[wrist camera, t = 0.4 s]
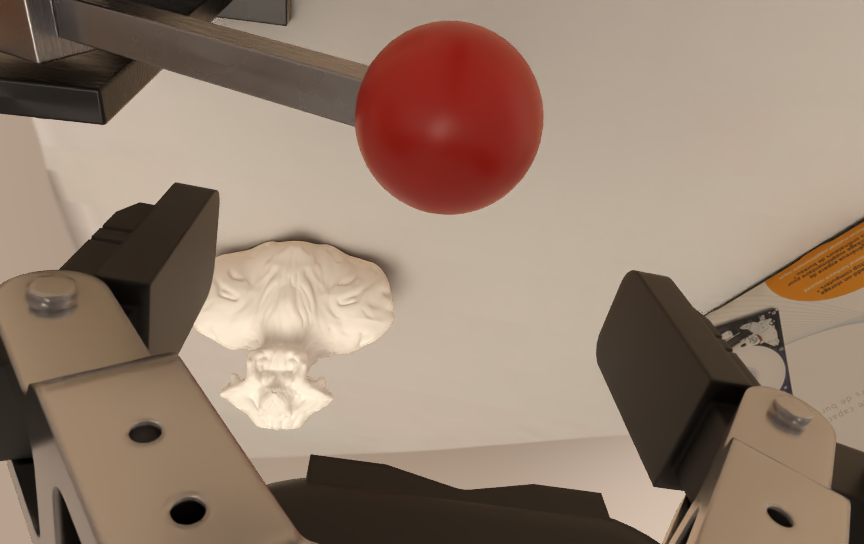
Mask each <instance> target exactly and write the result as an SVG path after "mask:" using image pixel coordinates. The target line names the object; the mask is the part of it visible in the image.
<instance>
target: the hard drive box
mask: <svg viewBox="0 0 864 544" xmlns="http://www.w3.org/2000/svg"><path fill="white" fill-rule="evenodd" d="M705 317H706V318H707V319H709V320H710V321H711V322H712V324H713V325H714V326H715V328H716V329H717V330H718V331H719V333H720V334H721V335H722V339H725V340H726V341H727V343H728V344H729V345H730V347H731V348H732V349H733V351H732V352H733V353H736V354H737V355H738V357H739V358H740V359H741V360H742V362H743V363H744V364H745V366H746V367H747V368H748V369H749V371H750V372H751V373H752V374H753V376H754V377H755V378H756V379H757V381H758V382H759V383H760V385H761V386H766V387H772V388H775V389H779V390H781V391H784V392H787V393H789V394H791V395H793V396H795V397H797V398H799V399H801V400H803V401H804V402H806V403H808V404H809V405H811V406H812V407H813V408H815V409H816V410H817V411H818V412H820V413H821V414H822V415H823V416H824V417H825V418H826V419H827V420H828V421H829V422H830V424H831V425H832V427H833V428H834V430H835V433H836V442H837V443H840V444H843V445H846V446H848V447H851V448H854V449H857V450H860V451H862V452H864V222H862V223H861V224H859V225H857V226H856V227H854V228H852V229H851V230H849V231H847V232H846V233H844V234H842V235H841V236H839V237H837V238H836V239H834V240H832V241H830V242H827V243H825V244H822V245H821V246H819V247H817V248H816V249H814V250H812V251H811V252H809V253H808V254H806V255H805V256H803V257H802V258H801V259H800V260H799V261H797V262H795V263H794V264H792V265H791V266H789V267H788V268H786V269H784V270H783V271H781V272H779V273H778V274H776V275H774V276H773V277H771V278H769V279H768V280H766V281H764V282H763V283H761V284H760V285H758V286H756V287H755V288H753V289H751V290H749V291H748V292H746V293H745V294H743V295H741V296H739V297H738V298H736V299H734V300H733V301H731V302H730V303H728V304H726V305H725V306H723V307H721V308H719V309H717V310H714V311H712V312H710V313H709V314H707V315H706V316H705Z"/></svg>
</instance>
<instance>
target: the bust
mask: <svg viewBox="0 0 864 544" xmlns="http://www.w3.org/2000/svg"><path fill="white" fill-rule="evenodd" d="M393 322H394V314H393V297H392V294H391V290H390V285H389V282H388V279H387V277H386V275H385V274H384V272H383V271H382V269H381V268H380V267H379V266H377V265H376V264H374V263H372V262H369V261H365V260H362V259H359V258H356V257H352V256H349V255H347V254H345V253H343V252H342V251H340V250H338V249H337V248H335V247H333V246H331V245H327V244H322V245H318V244H313V243H309V242H303V241H285V242H274V241H271V242H266V243H263V244H260V245H258V246H256V247H254V248H252V249H250V250H246V251H240V252H235V253H230V254H223V255H220V256H218V257H216V258H215V267H214V274H213V280H212V284H211V288H210V291H209V294H208V297H207V299H206V301H205V303H204V305H203V307H202V309H201V311H200V313H199V315H198V317H197V319H196V321H195V323H194V325H193V326H194V327H195V328H196V329H197V330H198V331H199V332H200V333H201V334H203V335H205V336H207V337H209V338H211V339H213V340H215V341H216V342H217V343H219V344H220V345H222V346H224V347H227V348H229V349H232V350H237V349H243V348H246V349H247V350H249V353H248V355H247V376H246V378H245V379H241V378H240V377H239V376H238V375H237V374H232V375H231V376H230V383H229V385H228V386H227V387H225V388H224V389H223V390H222V391H221V392H220V396H221V397H223V398H226V399H227V400H228V401H229V402H230V403H232V404H233V405H234V406H235V407H236V408H238V409H240V410H242V411H244V412H245V413H246V414H247V415H248V416H249V417H250V418H251V419H252V421H253V422H254V424H255V425H256V426H258V427H261V428H266V429H271V428H274V429H275V431H277V430H278V429H280V428H281V429H283V430H284V429H285V430H286V429H296V428H299V427H300V426H301V425H302V424H303V423H304V422H305V420H306V419H307V418H308V417H309V416H310V415H311V414H313V413H315V412H317V411H318V410H320V409H321V408H323V407H325V406H327V405H328V404H329V403H330V401H332V400H333V395H332V394H331V393H330V392H329V391H328V390H327V389H326V387H325V383H326V380H325V378H324V377H320V378H319V379H315V378H311V377H309V376H307V375H306V374H307V373H308V371H309V369H310V367H311V366H312V365H313V364H314V363H315V362H317V359H318V358H322V357H329V356H332V355H333V354H335V353H337V354H348V353H351V352H354V351H356V350H358V349H360V348H362V347H363V346H365V345H367V344H369V343H371V342H373V341H375V340H376V339H378V338H379V337H380V336H381V335H382V334H384V333H385V331H386V330H387V329H388V328H389V327H390V326H391V325H392V323H393Z"/></svg>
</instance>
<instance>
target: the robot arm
mask: <svg viewBox="0 0 864 544" xmlns="http://www.w3.org/2000/svg"><path fill="white" fill-rule="evenodd" d="M218 216H219V192H218V191H217V190H213V189H208V188H202V187H197V186H192V185H187V184H181V183H174V184H173V185H172V186H171V187H170V188H169V190H168V191H167V192H166V193H165V194H164V195H163V196H162V198H161V199H160V200H159V201H158V202H157V203H156V204H155V205H151V204H146V203H137V204H135V205H132V206H130V207H127V208H125V209H122V210H120V211H117V212H116V213H115V214H114V215H113V216H112V217H111V218H110V219H109V220H108V221H107V222H106V223H105V224H104V225H103V228H100V229H99V230H98V231H97V232H96V233H95V234H94V235H93V236H92V238H91V240H88V241H87V242H86V243H85V244H84V245H83V246H82V247H81V248H80V249H79V250H78V251H77V252H76V253H75V254H74V255H73V256H72V257H71V258H70V259H69V260H68V261H67V262H66V263H65V264H64V265H63V266H62V267H61V268H60V269H59V270H47V271H37V272H31V273H28V274H23V275H19V276H17V277H14V278H11V279H9V280H7V281H5V282H3V283H2V284H0V461H4V460H7V465H8V469H9V472H10V475H11V478H12V481H13V484H14V487H15V490H16V493H17V496H18V499H19V502H20V506H21V509H22V511H23V515H24V518H25V521H26V524H27V527H28V530H29V533H30V536H31V539H32V543H33V544H660V543H658V542H657V541H655V540H654V539H652V538H650V537H649V536H647V535H646V534H644V533H642V532H640V531H638V530H637V529H635V528H633V527H631V526H628V525H626V524H624V523H622V522H619V521H617V520H615V519H611V518H610V517H609V514H608V511H607V508H606V506H605V503H604V500H603V497H602V495H601V493H596V492H588V491H581V490H574V489H566V488H559V487H550V486H543V485H536V484H529V485H518V486H508V487H496V488H484V489H473V490H462V489H458V488H454V487H451V486H448V485H445V484H442V483H439V482H436V481H433V480H430V479H427V478H424V477H421V476H418V475H415V474H413V473H410V472H406V471H404V470H401V469H398V468H395V467H392V466H389V465H386V464H378V463H371V462H363V461H356V460H348V459H341V458H333V457H326V456H318V455H310V461H309V466H308V472H307V476H306V478H299V479H291V480H286V481H281V482H275V483H271V484H268V485H266V484H265V482H264V481H263V480H262V478H261V476H260V475H259V473H258V472H257V470H256V469H255V467H254V466H253V465H252V463H251V462H250V460H249V459H248V457H247V456H246V454H245V453H244V451H243V450H242V448H241V447H240V445H239V444H238V442H237V441H236V439H235V438H234V436H233V435H232V433H231V432H230V430H229V429H228V427H227V426H226V425H225V423H224V422H223V420H222V419H221V417H220V416H219V414H218V413H217V411H216V410H215V408H214V407H213V405H212V404H211V402H210V401H209V399H208V398H207V396H206V395H205V393H204V392H203V390H202V389H201V387H200V386H199V385H198V383H197V382H196V380H195V379H194V377H193V376H192V374H191V373H190V371H189V370H188V368H187V367H186V365H185V364H184V362H183V361H182V360H181V358H180V357H179V356H178V354H179V352H180V350H181V348H182V346H183V344H184V342H185V340H186V338H187V336H188V334H189V332H190V330H191V328H192V327H193V325H194V323H195V321H196V319H197V317H198V315H199V313H200V311H201V309H202V307H203V305H204V303H205V301H206V299H207V297H208V294H209V291H210V288H211V284H212V280H213V274H214V267H215V255H216V242H217V229H218ZM732 351H733V349H732V348H731V347H730V345H729V344H728V343H727V341H726V340H725V339H722V335H721V334H720V333H719V331H718V330H717V329H716V328H715V326H714V325H713V324H712V322H711V321H710V320H709V319H707V318H706V317H705V316H704V315H702V314H701V313H700V312H698V311H697V310H696V309H694V308H693V307H692V305H691V304H690V303H689V301H688V300H687V299H686V298H685V296H684V295H683V294H682V292H681V291H680V290H679V289H678V287H677V286H676V285H675V283H674V282H673V281H672V280H671V279H670V278H669V277H666V276H661V275H656V274H651V273H645V272H640V271H635V270H632V271H630V272H628V273H627V274H626V275H625V277H624V278H623V280H622V282H621V284H620V287H619V289H618V291H617V294H616V296H615V298H614V301H613V303H612V306H611V308H610V310H609V313H608V315H607V317H606V320H605V322H604V324H603V327H602V329H601V332H600V334H599V337H598V341H597V348H596V357H597V363H598V365H599V368H600V370H601V372H602V374H603V377H604V379H605V381H606V383H607V385H608V388H609V390H610V392H611V394H612V396H613V398H614V401H615V403H616V405H617V407H618V409H619V412H620V414H621V416H622V418H623V420H624V423H625V425H626V427H627V429H628V431H629V434H630V436H631V438H632V440H633V442H634V445H635V447H636V449H637V451H638V453H639V456H640V458H641V460H642V462H643V464H644V466H645V469H646V471H647V473H648V475H649V478H650V480H651V482H652V484H653V486H654V487H659V488H666V489H673V490H681V491H685V493H686V495H685V497H684V498H683V500H682V502H681V503H680V505H679V507H678V509H677V510H676V513H675V515H674V517H673V519H672V522H671V524H670V526H669V529H668V531H667V533H666V536H665V538H664V540H663V543H662V544H864V452H862V451H860V450H857V449H854V448H851V447H848V446H846V445H843V444H840V443H837V442H836V433H835V430H834V428H833V427H832V425H831V424H830V422H829V421H828V420H827V419H826V418H825V417H824V416H823V415H822V414H821V413H820V412H818V411H817V410H816V409H815V408H813V407H812V406H811V405H809V404H808V403H806V402H804V401H803V400H801V399H799V398H797V397H795V396H793V395H791V394H789V393H787V392H784V391H781V390H779V389H775V388H772V387H766V386H761V385H760V383H759V382H758V381H757V379H756V378H755V377H754V376H753V374H752V373H751V372H750V371H749V369H748V368H747V367H746V366H745V364H744V363H743V362H742V360H741V359H740V358H739V357H738V355H737V354H736V353H733V352H732Z"/></svg>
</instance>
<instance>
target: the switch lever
mask: <svg viewBox="0 0 864 544" xmlns="http://www.w3.org/2000/svg"><path fill="white" fill-rule="evenodd" d="M98 49H99V50H103V51H106V52H109V53H113V54H116V55H119V56H123V57H126V58H129V59H133V60H136V61H139V62H143V63H146V64H149V65H152V66H156V67H159V68H162V69H166V70H169V71H172V72H176V73H179V74H182V75H186V76H189V77H192V78H195V79H199V80H202V81H205V82H209V83H212V84H215V85H219V86H222V87H225V88H229V89H232V90H235V91H239V92H242V93H245V94H248V95H252V96H255V97H258V98H262V99H265V100H268V101H272V102H275V103H278V104H282V105H285V106H288V107H292V108H295V109H298V110H301V111H305V112H308V113H311V114H315V115H318V116H321V117H325V118H328V119H331V120H335V121H338V122H341V123H344V124H348V125H351V126H354V127H355V129H356V136H357V140H358V145H359V148H360V151H361V154H362V156H363V159H364V161H365V163H366V165H367V167H368V168H369V170H370V172H371V173H372V175H373V176H374V177H375V179H376V180H377V181H378V182H379V183H380V184H381V186H382V187H383V188H384V189H385V190H387V191H388V192H389V193H390V194H391V195H393V196H394V197H395V198H397V199H398V200H400V201H401V202H403V203H405V204H407V205H409V206H411V207H413V208H416V209H418V210H421V211H425V212H429V213H435V214H447V215H454V214H462V213H468V212H472V211H475V210H479V209H481V208H484V207H486V206H488V205H490V204H492V203H494V202H496V201H497V200H499V199H501V198H502V197H504V196H505V195H506V194H507V193H508V192H510V191H511V190H512V189H513V188H514V187H515V186H516V185H517V184H518V183H519V182H520V180H521V179H522V178H523V177H524V175H525V174H526V172H527V171H528V169H529V168H530V166H531V164H532V162H533V160H534V158H535V156H536V154H537V151H538V148H539V144H540V141H541V135H542V129H543V104H542V98H541V94H540V90H539V87H538V84H537V81H536V79H535V76H534V74H533V72H532V70H531V68H530V67H529V65H528V64H527V62H526V61H525V59H524V58H523V56H522V55H521V54H520V53H519V52H518V51H517V50H516V49H515V48H514V47H513V46H512V45H511V44H510V43H509V42H508V41H506V40H505V39H504V38H502V37H501V36H499V35H498V34H496V33H495V32H493V31H491V30H489V29H486V28H484V27H482V26H479V25H475V24H472V23H466V22H460V21H439V22H432V23H428V24H425V25H421V26H418V27H415V28H413V29H411V30H409V31H407V32H405V33H403V34H402V35H400V36H399V37H397V38H396V39H394V40H393V41H391V42H390V43H389V44H388V45H387V46H386V47H385V48H384V49H383V50H382V51H381V52H380V53H379V54H378V55H377V57H376V58H375V59H374V60H373V62H372V63H371V65H370V66H367V65H364V64H360V63H356V62H353V61H349V60H345V59H342V58H338V57H334V56H331V55H327V54H323V53H320V52H316V51H312V50H309V49H305V48H301V47H298V46H294V45H290V44H287V43H283V42H279V41H276V40H272V39H268V38H265V37H261V36H257V35H254V34H250V33H246V32H243V31H239V30H235V29H231V28H228V27H224V26H220V25H217V24H213V23H209V22H206V21H202V20H198V19H195V18H191V17H187V16H184V15H180V14H176V13H173V12H169V11H165V10H162V9H158V8H154V7H151V6H147V5H143V4H140V3H136V2H132V1H129V0H0V52H2V53H5V54H8V55H11V56H15V57H18V58H21V59H24V60H27V61H30V62H33V63H36V64H43V63H47V62H51V61H55V60H59V59H63V58H67V57H71V56H75V55H79V54H82V53H86V52H90V51H94V50H98Z"/></svg>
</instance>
